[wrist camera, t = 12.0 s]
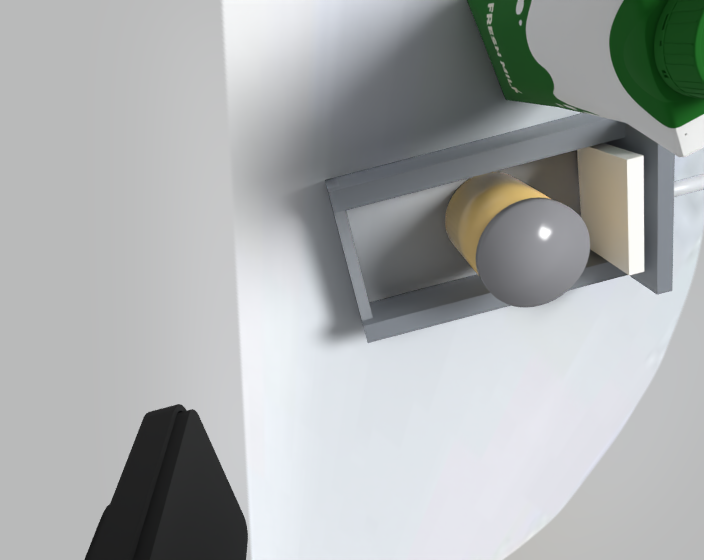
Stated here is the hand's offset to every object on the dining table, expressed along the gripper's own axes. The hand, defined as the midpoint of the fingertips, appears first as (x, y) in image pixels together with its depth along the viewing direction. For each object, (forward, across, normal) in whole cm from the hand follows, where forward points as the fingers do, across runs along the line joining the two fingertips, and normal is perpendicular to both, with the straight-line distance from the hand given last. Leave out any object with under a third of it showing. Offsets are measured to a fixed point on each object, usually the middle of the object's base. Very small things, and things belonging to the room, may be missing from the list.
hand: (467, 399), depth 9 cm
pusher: (+28, -20, +8) cm, 35 cm away
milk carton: (+28, -14, -4) cm, 32 cm away
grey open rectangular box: (+28, -8, +8) cm, 30 cm away
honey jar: (+28, -9, +8) cm, 31 cm away
